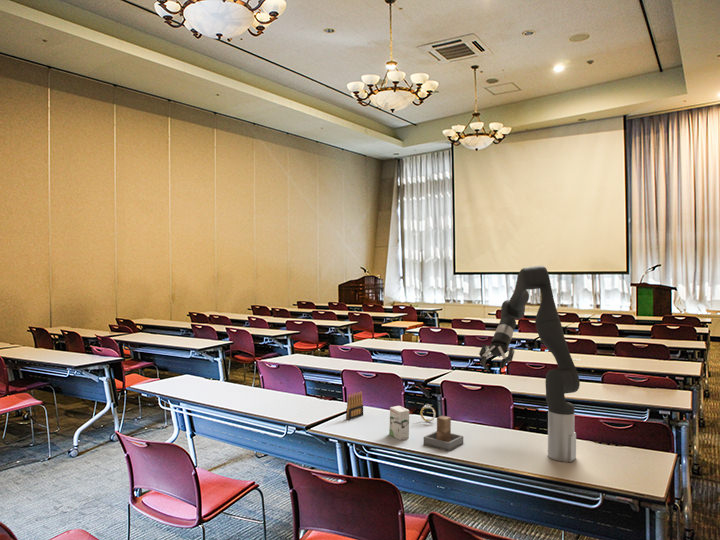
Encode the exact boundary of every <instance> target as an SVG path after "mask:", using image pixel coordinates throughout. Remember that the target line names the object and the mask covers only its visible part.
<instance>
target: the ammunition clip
mask: <svg viewBox="0 0 720 540" xmlns="http://www.w3.org/2000/svg"><path fill="white" fill-rule="evenodd" d="M363 402H364V401H363V392H362V390H360V391H358V392H357V391H356V392H353V393H352V392H350V393H348V395H347V402H346V406H347V407H346V410H345V411H346V413H345V420H346V421H351V420H354V419H357V418H361V417H362V416H364V404H363Z"/></svg>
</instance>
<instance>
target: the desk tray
mask: <svg viewBox="0 0 720 540" xmlns="http://www.w3.org/2000/svg"><path fill="white" fill-rule="evenodd" d="M423 445H424V446H429V447H432V448H437V449H440V450H444V451H447V452H450V451H452V450H454V449H456V448H458V447H460V446H462V445H464V435H460V434H456V433H451V441H450V442H445V441H441V440H437V430H436V431H433V432H431V433H429V434H427V435H425V436H423Z"/></svg>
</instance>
